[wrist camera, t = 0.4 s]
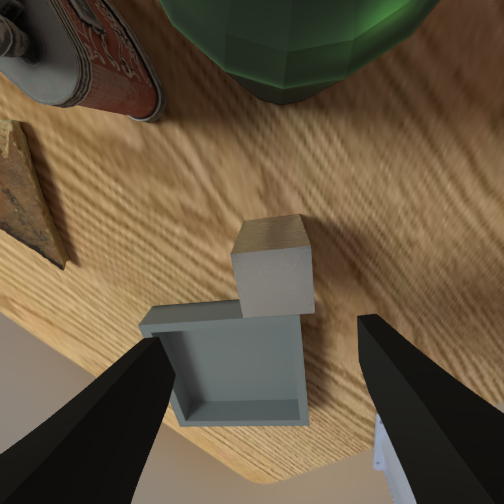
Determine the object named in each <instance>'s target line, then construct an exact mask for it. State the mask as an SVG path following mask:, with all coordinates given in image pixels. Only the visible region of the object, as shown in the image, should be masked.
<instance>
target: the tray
mask: <svg viewBox="0 0 504 504" xmlns="http://www.w3.org/2000/svg"><path fill="white" fill-rule="evenodd" d="M138 326H139V328H140V330H141V333H142V335H143V338H149V337H159V338H160V340H161V342H162V345H163V347H164V349H165V351H166V353H167V356H168V358H169V360H170V362H171V365H172V367H173V369H174V371H175V374H176V377H175V381H174V385H173V390H172V393H171V397H170V400H169V401H170V403H171V406H172V408H173V411H174V413H175V415H176V418H177V420H178V423H179V425H180V427H191V426H310V424H309V413H308V402H307V391H306V380H305V369H304V358H303V346H302V335H301V324H300V314H296V315H281V316H266V317H252V318H243V315H242V310H241V305H240V300H227V301H214V302H201V303H188V304H176V305H163V306H153V307H152V308H151V309H150V311H149V312H148V313H147V315H146V316H145V317H144V319H143V320H142V321H141V323H140V324H139V325H138Z"/></svg>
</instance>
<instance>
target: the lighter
mask: <svg viewBox="0 0 504 504" xmlns="http://www.w3.org/2000/svg"><path fill="white" fill-rule="evenodd" d="M0 71H1V72H2V73H3V74H4V75H5V76H6V77H7V78H8V79H9V80H10V81H12V82H13V83H14V84H15V85H16V86H17V87H18V88H19V89H20V90H22V91H23V92H24V93H25V94H26V95H27V96H28V97H30V98H32V99H33V100H35V101H36V102H38V103H42V104H46V105H51V106H56V107H62V108H68V107H74V106H76V105H79V106H84V107H89V108H94V109H99V110H104V111H109V112H114V113H119V114H124V115H127V116H129V117H130V118H132V119H133V120H137V121H142V122H152V121H155V120H156V119H158V118H159V117H160V116H161V115H162V113H163V112H164V109H165V107H166V95H165V91H164V89H163V87H162V84H161V82H160V80H159V78H158V76H157V74H156V72H155V69H154V67H153V65H152V63H151V61H150V59H149V58H148V56H147V54H146V53H145V51H144V49H143V48H142V46H141V44H140V42H139V41H138V39H137V37H136V36H135V34H134V32H133V31H132V30H131V28H130V27H129V26H128V24H127V23H126V22H125V20H124V19H123V18H122V16H121V15H120V14H119V12H118V11H117V10H116V8H115V7H114V6H113V4H112V3H111V2H110V1H109V0H0Z"/></svg>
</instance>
